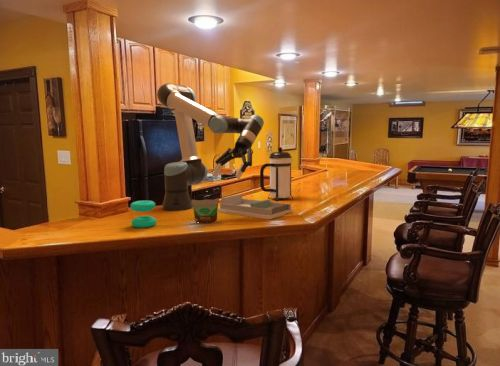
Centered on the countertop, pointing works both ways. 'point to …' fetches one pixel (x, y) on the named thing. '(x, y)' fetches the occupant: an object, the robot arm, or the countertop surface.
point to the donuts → (143, 220)
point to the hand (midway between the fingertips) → (225, 176)
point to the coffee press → (278, 175)
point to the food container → (205, 210)
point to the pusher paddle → (261, 204)
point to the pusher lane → (252, 208)
